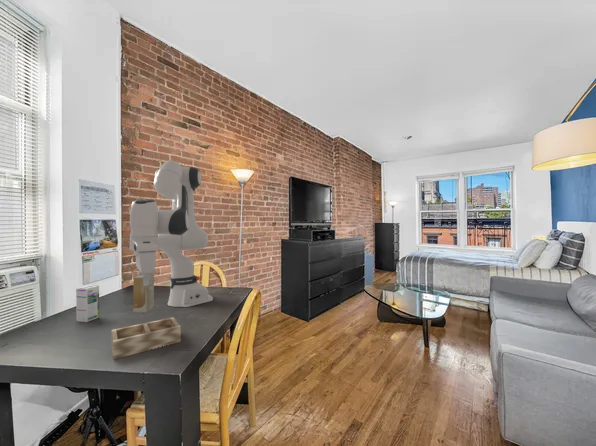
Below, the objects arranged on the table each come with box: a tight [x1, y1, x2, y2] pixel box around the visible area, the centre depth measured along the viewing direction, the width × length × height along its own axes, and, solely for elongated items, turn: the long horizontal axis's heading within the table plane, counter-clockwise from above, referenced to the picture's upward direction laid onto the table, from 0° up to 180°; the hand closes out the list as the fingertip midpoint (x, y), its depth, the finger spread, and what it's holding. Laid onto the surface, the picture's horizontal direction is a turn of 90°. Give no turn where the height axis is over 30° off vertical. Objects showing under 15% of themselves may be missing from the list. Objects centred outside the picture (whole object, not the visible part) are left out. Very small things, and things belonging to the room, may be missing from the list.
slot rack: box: [111, 316, 182, 360], centre depth 90 cm, size 20×11×6 cm, turn 128°
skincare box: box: [132, 273, 155, 313], centre depth 92 cm, size 6×4×12 cm
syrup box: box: [75, 284, 100, 323], centre depth 113 cm, size 6×6×14 cm
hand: (144, 283), depth 92 cm, fingers closed on skincare box, 7 cm apart
